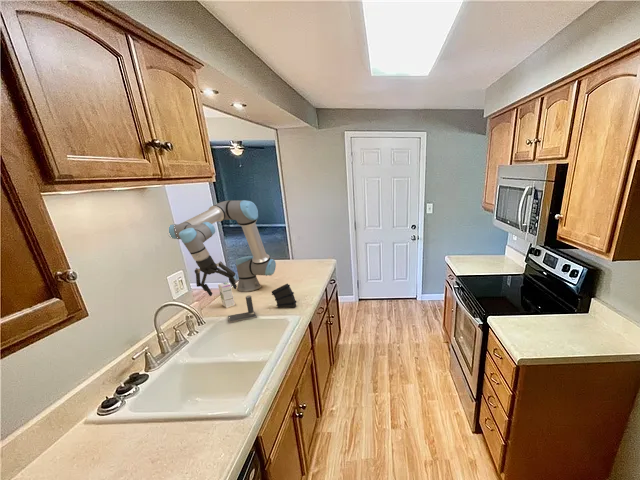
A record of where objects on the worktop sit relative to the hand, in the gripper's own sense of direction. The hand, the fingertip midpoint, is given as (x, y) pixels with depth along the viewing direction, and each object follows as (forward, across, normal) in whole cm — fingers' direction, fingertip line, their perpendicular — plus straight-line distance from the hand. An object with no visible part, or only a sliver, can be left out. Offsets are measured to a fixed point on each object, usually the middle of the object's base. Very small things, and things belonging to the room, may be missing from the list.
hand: (223, 291), depth 181 cm
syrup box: (+20, -11, +19) cm, 29 cm away
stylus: (+18, +7, -2) cm, 20 cm away
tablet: (+18, +2, -3) cm, 18 cm away
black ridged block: (+26, +24, +8) cm, 36 cm away
